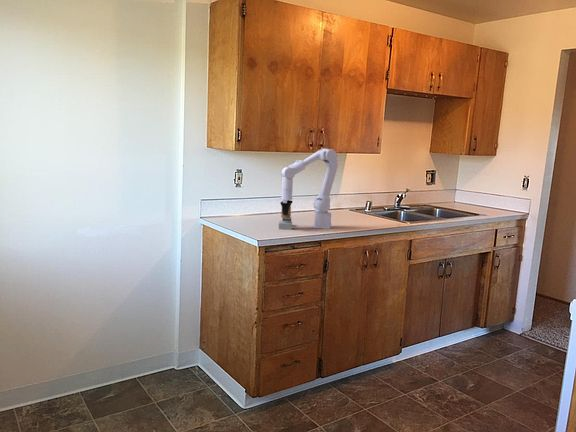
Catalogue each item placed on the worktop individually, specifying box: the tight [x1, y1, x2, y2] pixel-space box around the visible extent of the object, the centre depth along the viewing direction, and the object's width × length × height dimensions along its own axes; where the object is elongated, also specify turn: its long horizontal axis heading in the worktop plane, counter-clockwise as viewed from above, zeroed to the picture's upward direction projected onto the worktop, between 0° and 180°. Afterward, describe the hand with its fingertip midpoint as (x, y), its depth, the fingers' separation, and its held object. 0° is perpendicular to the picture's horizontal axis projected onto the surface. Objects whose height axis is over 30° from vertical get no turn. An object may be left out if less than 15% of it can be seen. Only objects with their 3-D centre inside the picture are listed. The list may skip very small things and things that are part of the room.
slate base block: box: [278, 220, 293, 231], centre depth 268 cm, size 7×7×4 cm
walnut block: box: [280, 206, 292, 218], centre depth 267 cm, size 4×4×6 cm
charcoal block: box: [281, 216, 292, 222], centre depth 276 cm, size 4×4×4 cm
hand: (286, 214), depth 267 cm, fingers closed on walnut block, 4 cm apart
